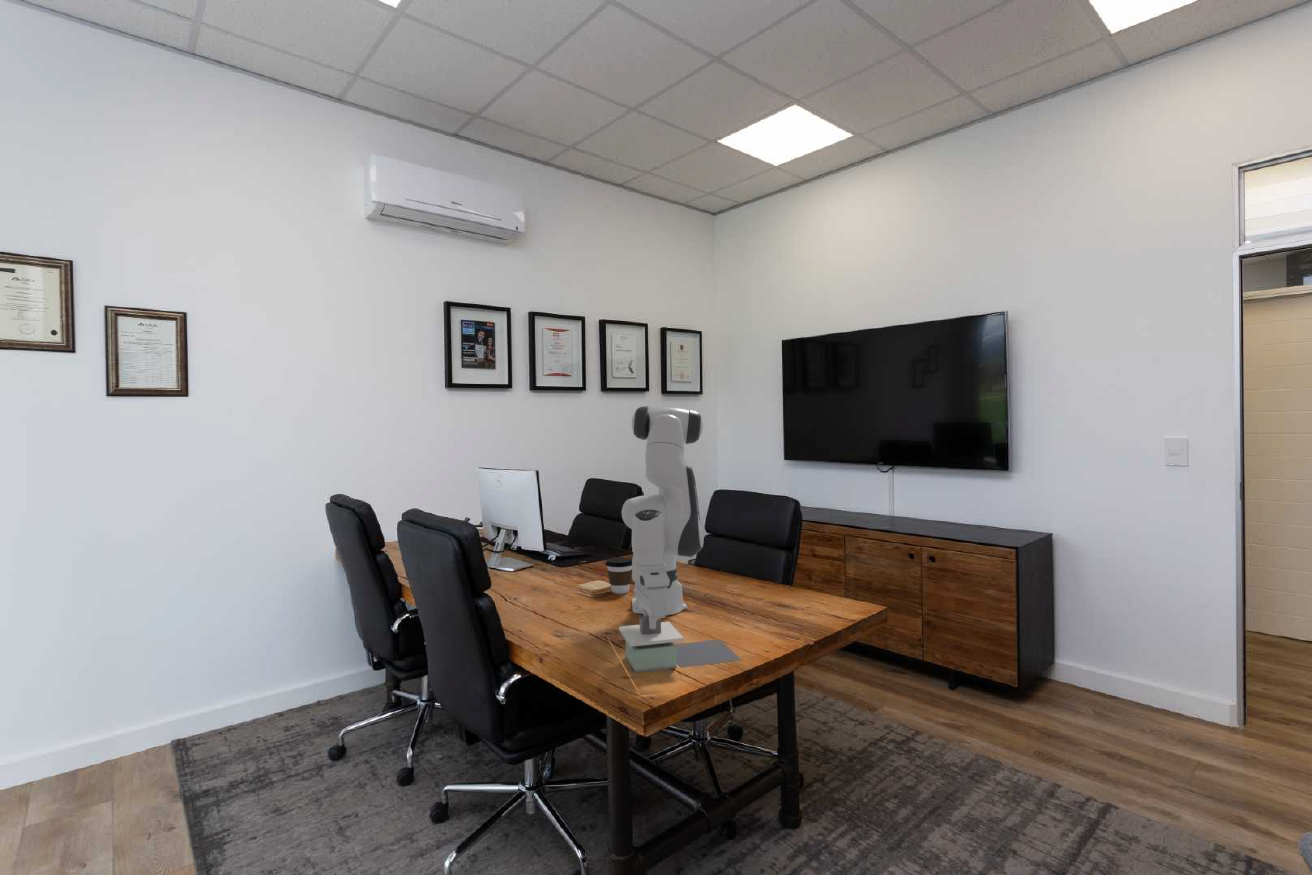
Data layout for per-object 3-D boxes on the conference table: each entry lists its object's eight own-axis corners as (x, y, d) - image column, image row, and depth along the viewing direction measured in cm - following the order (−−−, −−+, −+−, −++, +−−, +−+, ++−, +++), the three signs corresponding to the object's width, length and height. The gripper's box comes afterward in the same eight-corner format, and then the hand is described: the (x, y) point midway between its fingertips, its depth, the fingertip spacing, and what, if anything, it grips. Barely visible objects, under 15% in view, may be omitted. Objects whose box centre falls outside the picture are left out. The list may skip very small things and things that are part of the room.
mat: (662, 646, 183) (662, 645, 183) (719, 640, 187) (719, 639, 187) (680, 668, 167) (680, 667, 167) (742, 661, 171) (742, 660, 171)
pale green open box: (625, 658, 174) (625, 636, 174) (665, 654, 177) (664, 632, 177) (634, 674, 164) (634, 650, 163) (676, 669, 166) (676, 646, 166)
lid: (618, 629, 175) (618, 613, 175) (668, 624, 179) (668, 608, 179) (630, 646, 162) (629, 629, 162) (683, 640, 165) (683, 624, 165)
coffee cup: (604, 588, 248) (603, 557, 248) (632, 587, 250) (632, 556, 250) (607, 596, 237) (606, 563, 237) (637, 594, 239) (636, 562, 239)
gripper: (628, 565, 179) (629, 615, 179) (646, 583, 159) (647, 639, 160) (651, 563, 181) (651, 613, 181) (671, 581, 161) (672, 636, 161)
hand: (650, 625), depth 170 cm, fingers closed on lid, 3 cm apart
